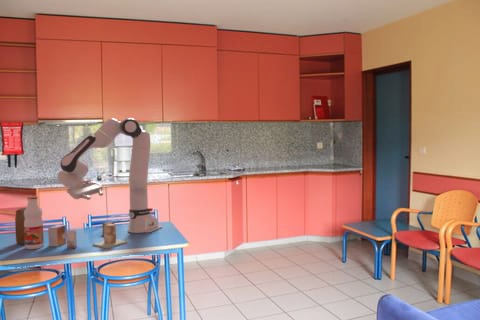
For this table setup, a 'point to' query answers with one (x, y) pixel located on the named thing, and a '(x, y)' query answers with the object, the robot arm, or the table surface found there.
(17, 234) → the block
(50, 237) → the small box
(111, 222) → the walnut block
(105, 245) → the beige flat square plate
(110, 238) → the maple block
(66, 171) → the robot arm
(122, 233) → the table surface
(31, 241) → the fruit juice
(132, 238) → the table surface
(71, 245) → the metal can
